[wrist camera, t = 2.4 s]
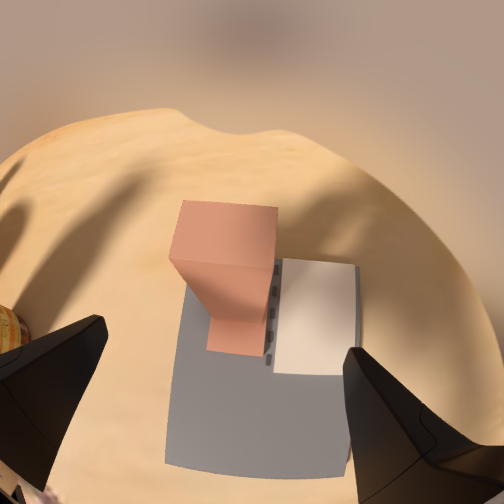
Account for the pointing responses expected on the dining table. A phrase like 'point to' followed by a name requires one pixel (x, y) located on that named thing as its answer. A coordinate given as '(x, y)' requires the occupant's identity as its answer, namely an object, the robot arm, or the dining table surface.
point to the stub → (228, 269)
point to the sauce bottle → (11, 330)
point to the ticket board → (270, 382)
